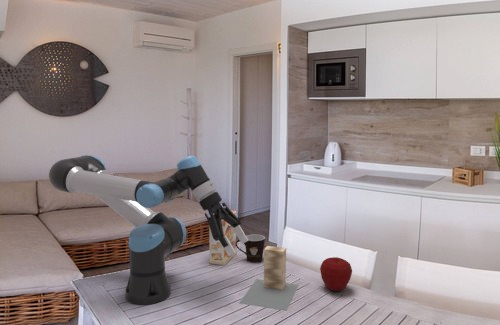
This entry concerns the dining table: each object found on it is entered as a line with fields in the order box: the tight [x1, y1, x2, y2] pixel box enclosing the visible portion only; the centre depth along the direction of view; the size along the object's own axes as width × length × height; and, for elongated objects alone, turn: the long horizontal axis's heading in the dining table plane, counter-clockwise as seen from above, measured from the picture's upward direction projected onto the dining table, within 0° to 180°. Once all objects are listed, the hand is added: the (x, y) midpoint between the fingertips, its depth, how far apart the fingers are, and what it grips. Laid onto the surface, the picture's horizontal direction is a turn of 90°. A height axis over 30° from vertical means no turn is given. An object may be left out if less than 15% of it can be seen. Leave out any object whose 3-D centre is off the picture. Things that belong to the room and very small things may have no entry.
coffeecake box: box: [208, 209, 237, 266], centre depth 174 cm, size 15×7×20 cm, turn 162°
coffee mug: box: [236, 234, 266, 264], centre depth 173 cm, size 12×9×10 cm
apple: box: [319, 256, 353, 292], centre depth 145 cm, size 11×11×12 cm
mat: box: [238, 278, 300, 311], centre depth 141 cm, size 16×20×1 cm
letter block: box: [263, 245, 287, 290], centre depth 146 cm, size 7×4×14 cm, turn 72°
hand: (239, 248), depth 143 cm, fingers open, 13 cm apart
